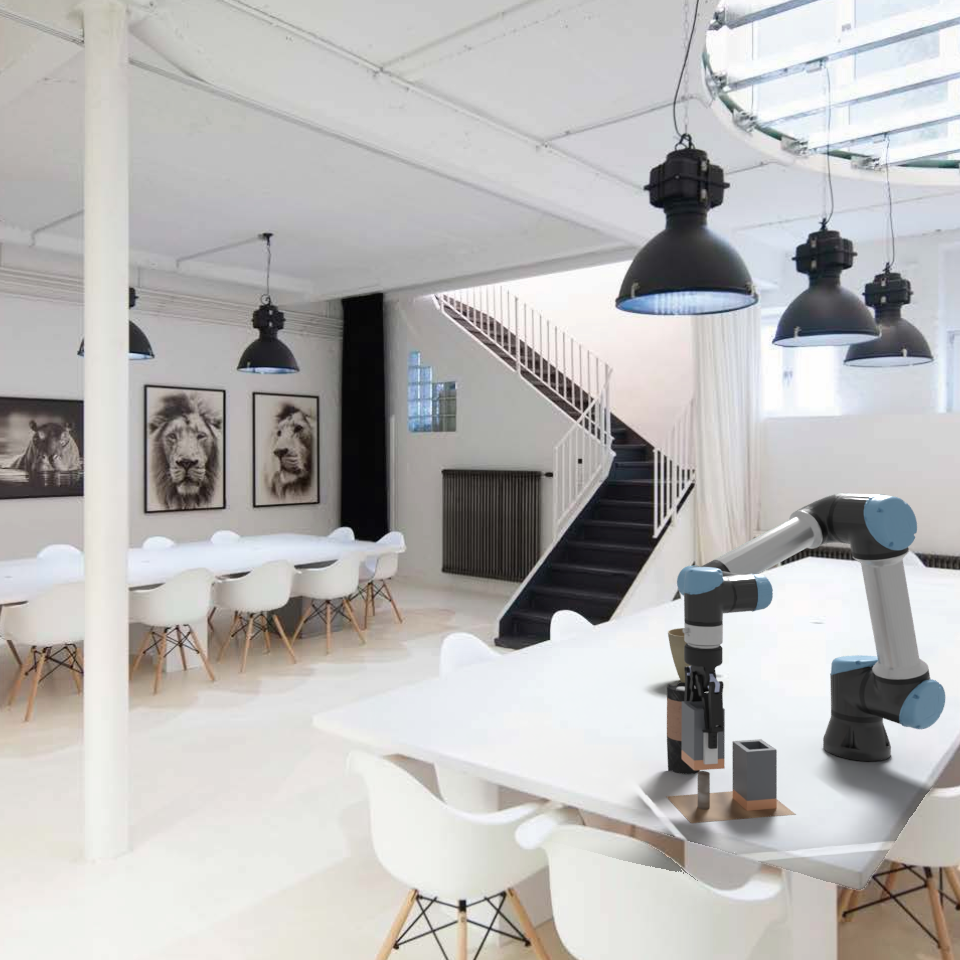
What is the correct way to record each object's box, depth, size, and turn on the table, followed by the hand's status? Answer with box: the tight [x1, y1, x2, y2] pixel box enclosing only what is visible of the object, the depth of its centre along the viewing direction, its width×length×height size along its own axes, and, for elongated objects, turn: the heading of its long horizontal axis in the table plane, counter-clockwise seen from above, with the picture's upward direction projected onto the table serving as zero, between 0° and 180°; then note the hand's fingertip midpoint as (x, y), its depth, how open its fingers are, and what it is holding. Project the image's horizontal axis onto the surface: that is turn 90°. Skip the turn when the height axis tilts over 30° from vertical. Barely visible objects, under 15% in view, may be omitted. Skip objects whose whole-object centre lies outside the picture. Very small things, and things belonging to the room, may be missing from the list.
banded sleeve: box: [682, 701, 726, 771], centre depth 171 cm, size 6×6×12 cm
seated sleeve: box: [732, 738, 778, 811], centre depth 173 cm, size 6×6×12 cm
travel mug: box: [666, 681, 701, 775], centre depth 193 cm, size 8×8×20 cm
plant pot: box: [667, 627, 691, 683], centre depth 270 cm, size 15×15×16 cm
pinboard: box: [665, 770, 797, 824], centre depth 172 cm, size 22×13×8 cm, turn 99°
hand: (703, 756), depth 171 cm, fingers closed on banded sleeve, 6 cm apart
